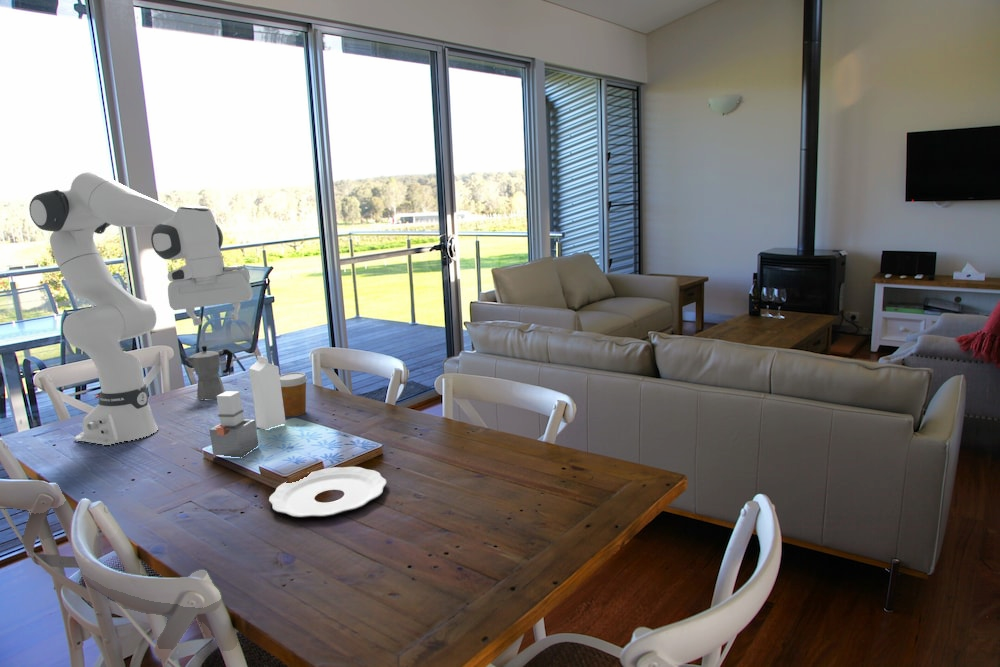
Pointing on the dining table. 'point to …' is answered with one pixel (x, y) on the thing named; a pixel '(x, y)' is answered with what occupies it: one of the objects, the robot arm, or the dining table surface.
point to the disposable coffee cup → (293, 393)
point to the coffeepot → (209, 372)
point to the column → (230, 409)
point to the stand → (234, 439)
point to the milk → (267, 394)
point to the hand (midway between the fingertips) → (216, 322)
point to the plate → (301, 493)
